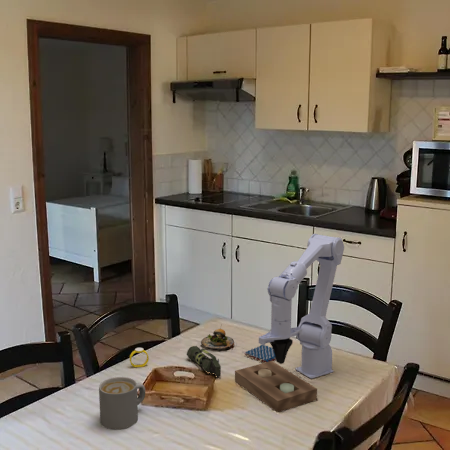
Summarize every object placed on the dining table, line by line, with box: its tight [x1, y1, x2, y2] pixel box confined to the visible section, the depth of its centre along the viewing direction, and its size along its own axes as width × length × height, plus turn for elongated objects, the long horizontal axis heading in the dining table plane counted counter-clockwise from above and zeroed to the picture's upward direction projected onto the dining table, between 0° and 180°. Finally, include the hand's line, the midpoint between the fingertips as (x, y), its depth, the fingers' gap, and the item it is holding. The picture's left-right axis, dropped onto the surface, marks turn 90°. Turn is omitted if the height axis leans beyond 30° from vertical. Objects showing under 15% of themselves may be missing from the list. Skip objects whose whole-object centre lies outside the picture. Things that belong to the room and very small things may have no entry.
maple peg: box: [258, 369, 272, 378], centre depth 174 cm, size 4×4×4 cm
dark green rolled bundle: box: [186, 345, 222, 378], centre depth 185 cm, size 6×5×18 cm
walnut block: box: [234, 361, 318, 413], centre depth 170 cm, size 14×22×4 cm, turn 31°
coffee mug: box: [98, 376, 146, 431], centre depth 154 cm, size 13×10×10 cm
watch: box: [129, 347, 150, 368], centre depth 186 cm, size 6×3×6 cm, turn 107°
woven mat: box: [244, 344, 276, 364], centre depth 195 cm, size 10×11×2 cm
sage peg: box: [280, 383, 294, 393], centre depth 165 cm, size 4×4×4 cm
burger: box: [200, 324, 235, 350], centre depth 203 cm, size 12×12×8 cm
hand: (280, 362), depth 167 cm, fingers closed
